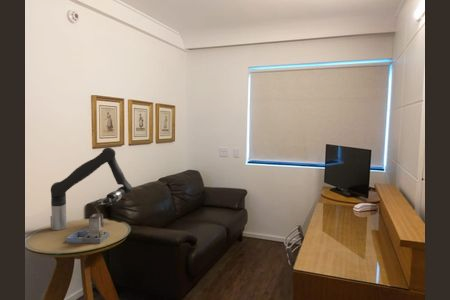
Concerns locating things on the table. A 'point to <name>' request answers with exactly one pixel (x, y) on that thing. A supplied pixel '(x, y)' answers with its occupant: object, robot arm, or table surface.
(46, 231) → the table surface
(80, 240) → the divided tray
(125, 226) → the table surface
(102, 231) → the coffee box
